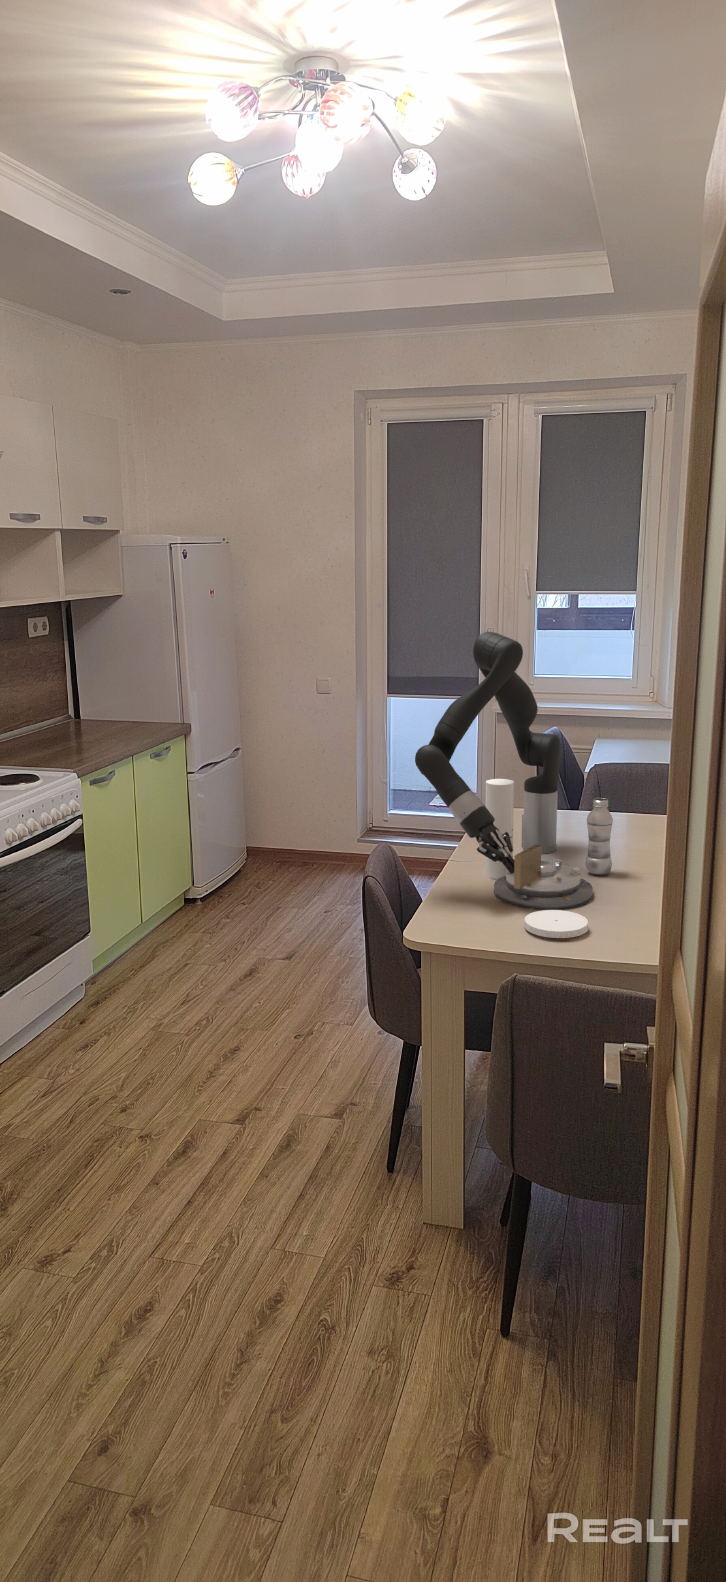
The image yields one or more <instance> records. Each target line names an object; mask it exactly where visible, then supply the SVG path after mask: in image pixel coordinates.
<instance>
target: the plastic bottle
mask: <svg viewBox="0 0 726 1582" xmlns="http://www.w3.org/2000/svg"><path fill="white" fill-rule="evenodd" d="M592 801H593V802H592V803H593V804H592V809H591V811H590V812H589V813H588V814H587V817H586V824H587V826H586V827H587V832H588V834H587V835H588V837H587V838H588V846H587V847H588V848H587V855H586V858H585V859H586V860H585V868H586V871H587V872H588V873H589V874H591V875H598V876H605V875H608V874H609V873H610V872H611V870H612V867H613V862H612V856H611V834H612V828H613V823H614V819H613V816H612V814H611V812H610V811H609V808H608V807H609V799H608V798H605V797H604V798H603V797H595V798H593V800H592Z"/></svg>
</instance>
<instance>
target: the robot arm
mask: <svg viewBox="0 0 726 1582" xmlns="http://www.w3.org/2000/svg"><path fill="white" fill-rule="evenodd" d="M523 655H524V649H523V646H522V644H521V643H520V642H518V641H517V640H516V639H512V638H511V637H507V636H505V635H504V634H503V635H502V634H500V633H498V632H493V631H485V632H482V633H480V634H479V636H477V637H476V639H475V641H474V644H473V648H472V656H473V660H474V662H475V664H476V666H477V668H478V669H479V670H480V672H481V674H482V676H483V677H484V679H483V680H482V681H481V682H480V683H479V684H477V685H476V686H475V687H473V688H472V689H470V690H468V691H467V692H466V693H464V694H462V695H461V696H460V697H458V698H456V699H455V700H454V701H453V702H452V703H451V704H450V705H449V706H448V707H447V709H446V710H445V712H444V713H443V714H442V716H441V718H440V720H439V721H438V723H437V724H436V726H435V728H434V732H433V736H432V738H431V739H430V741H429V742H428V744H424V745H422V746H421V747H420V748H418V749H417V751H416V753H415V756H414V764H415V765H416V768H417V769H418V771H419V772H420V774H421V775H422V776H424V777H425V778H426V780H427V781H428V783H430V784H431V786H433V788H434V789H435V790H436V791H435V792H436V793H437V795H438V796H439V798H440V799H441V800H442V802H443V803H444V804H445V806H446V807H447V808H448V809H449V811H450V813H451V814H452V816H453V817H454V819H455V820H456V821H457V823H458V825H459V826H460V827H461V828H462V829H463V830H464V832H465V833H466V834H467V836H468V837H469V838H471V839H476V842H477V843H478V844H479V845H478V847H477V848H476V851H477V852H478V853H479V854H481V855H483V856H484V857H485V856H486V857H488V858H489V859H491V860H493V861H494V862H496V861H499V862H502V863H503V864H504V866H505V867H506V868H507V870H508V871H509V872H510V873H511V874H513V873H514V857H513V858H512V856H511V852H512V851H513V852H514V846H513V847H512V843H511V840H510V836H509V833H508V832H505V833H504V834H503V833H501V832H500V831H499V829H498V828H496V827H495V826H494V825H493V822H494V821H495V818H494V817H493V816H492V814H491V813H490V812H489V810H488V809H487V808H486V804H485V803H483V802H482V800H481V799H480V798H479V796H478V795H477V794H475V793H474V791H473V790H472V789H471V788H470V786H469V785H468V784H467V783H466V782H465V780H464V779H463V778H462V777H461V776H460V775H459V774H458V773H457V772H456V770H455V768H454V767H453V765H452V764H451V762H450V761H451V760H452V757H453V755H454V754H455V750H456V749H457V747H458V745H459V744H460V743H461V741H462V739H463V738H464V736H465V735H466V733H467V732H468V730H469V728H470V727H471V726H472V724H473V723H474V721H475V719H476V718H477V716H478V715H479V714H480V712H481V711H482V710H483V709H484V708H485V706H486V705H488V703H489V702H490V701H491V700H492V699H493V698H494V697H495V699H496V702H497V704H498V706H499V710H500V711H501V713H502V716H503V717H504V720H505V722H506V723H507V725H508V727H509V730H510V732H511V735H512V738H513V742H514V744H515V747H516V751H517V755H518V757H519V759H520V761H521V762H522V763H523V764H524V765H527V766H531V767H532V766H533V767H542V768H543V771H542V773H541V774H539V775H536V776H532V777H528V778H526V779H525V780H524V783H523V788H524V789H523V814H522V815H521V847H522V849H523V851H524V850H526V849H528V848H529V847H531V846H533V845H535V844H536V845H541V854H550V853H554V852H555V851H556V850H557V833H558V832H557V830H558V829H557V828H558V827H557V826H558V825H557V824H558V792H559V790H558V789H559V788H558V786H559V778H560V777H559V776H560V761H561V752H562V750H561V748H562V747H561V739H560V738H559V736H558V735H557V734H552V733H542V732H541V733H540V732H533V731H531V730H530V727H531V726H532V724H533V723H534V721H535V720H536V717H537V715H538V704H537V701H536V698H535V696H534V694H533V691H532V690H531V688H530V686H529V685H528V684H527V683H526V682H525V680H523V679H522V677H521V676H520V675H518V673H517V672H516V671H517V669H518V668H519V666H520V664H521V662H522V659H523ZM507 847H508V848H507Z"/></svg>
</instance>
